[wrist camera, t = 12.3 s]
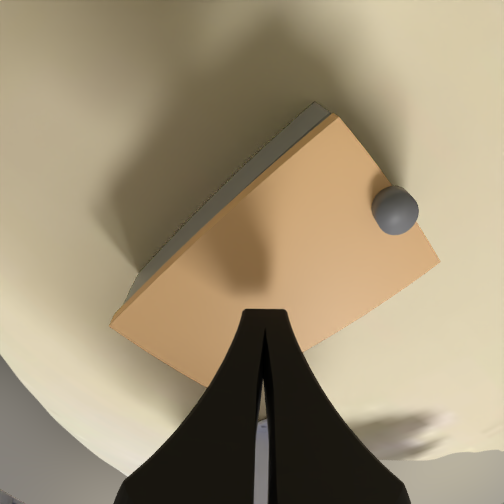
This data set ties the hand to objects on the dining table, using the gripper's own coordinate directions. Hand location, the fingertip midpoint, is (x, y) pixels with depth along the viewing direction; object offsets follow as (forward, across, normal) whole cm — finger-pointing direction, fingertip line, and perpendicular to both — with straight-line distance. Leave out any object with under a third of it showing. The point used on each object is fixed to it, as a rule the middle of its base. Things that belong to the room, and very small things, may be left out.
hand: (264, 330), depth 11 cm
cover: (+2, 0, 0) cm, 2 cm away
